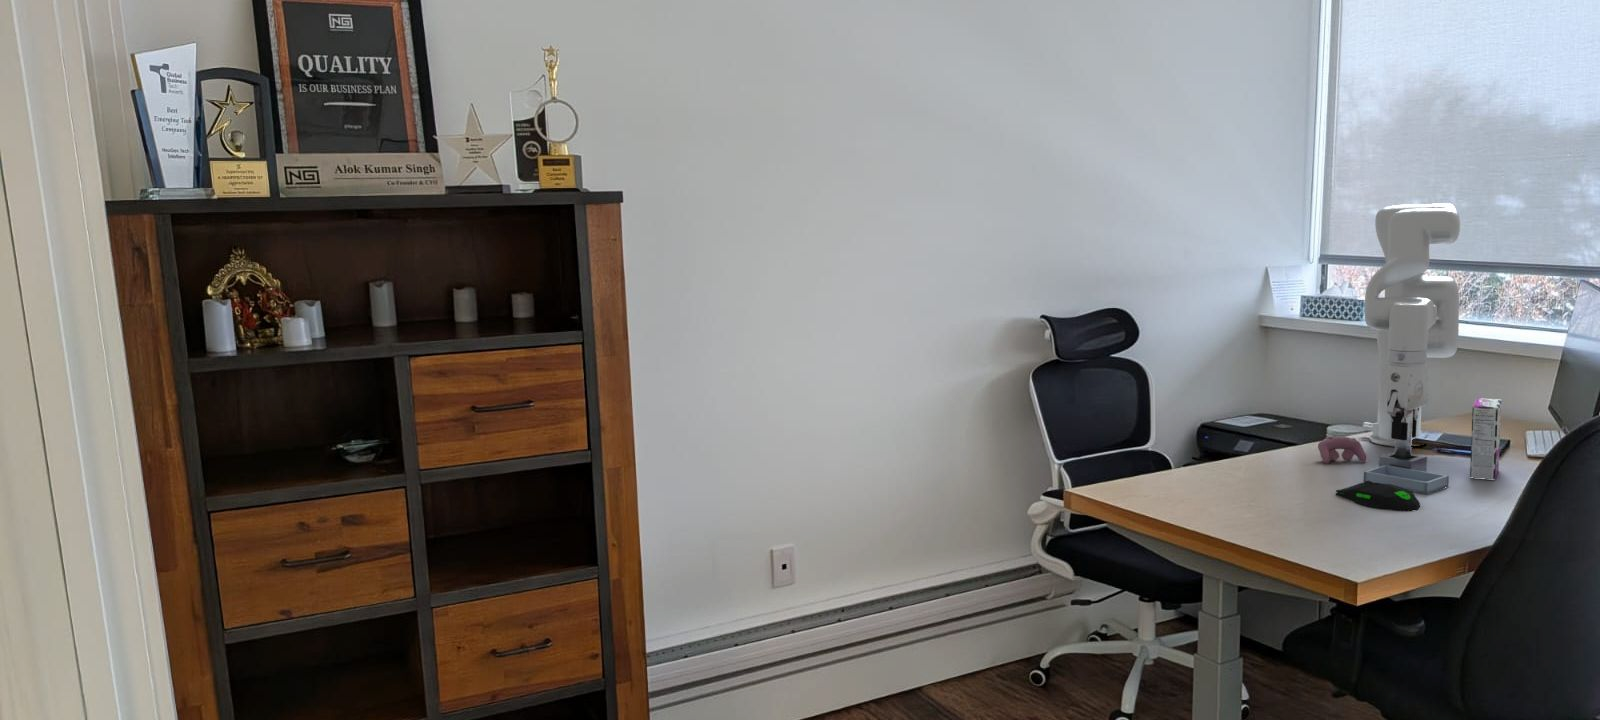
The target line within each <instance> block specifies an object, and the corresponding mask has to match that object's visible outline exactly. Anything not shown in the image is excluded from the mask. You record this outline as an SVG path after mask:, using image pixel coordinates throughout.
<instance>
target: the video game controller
mask: <svg viewBox="0 0 1600 720" xmlns="http://www.w3.org/2000/svg"><path fill="white" fill-rule="evenodd" d="M1317 449H1318V451H1319V455H1320V457H1321V459H1322V461H1323V462H1324V464H1328V465H1329V463H1330V461H1332V462H1334V461H1337V460H1338V459H1339V458H1340V453H1339V452H1338V451H1337V450H1343V451H1342V453H1341V457H1342V459H1343V460H1344V461H1347V462H1348V461H1350V460H1352V459H1353V458H1354V455H1355V456H1356V457H1357V458H1358V460H1359V461H1360V462H1361V463H1363V464H1365V463H1366V462H1367V454H1366V452H1365V449H1364V448H1363V446H1362V444H1361V442H1360V440H1357V439H1356V438H1355V437H1347V436H1342V435H1341V436H1331V437H1327V438H1323V439H1322V440H1321V441H1320V442H1318V444H1317Z"/></svg>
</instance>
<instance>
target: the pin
mask: <svg viewBox="0 0 1600 720" xmlns="http://www.w3.org/2000/svg"><path fill="white" fill-rule="evenodd" d="M1397 408H1401V406H1399V405H1397ZM1402 409H1403V408H1402ZM1416 409H1417V408H1416ZM1413 410H1415V409H1412V410H1407V417H1406V423H1408V431H1407V440H1398V439H1395V447H1394V452H1395V458H1400V459H1406V460H1409V459H1411V454H1412V447H1411V445H1412V423H1413ZM1398 412H1400V413H1401V415H1402V411H1398Z"/></svg>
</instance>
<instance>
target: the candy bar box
mask: <svg viewBox="0 0 1600 720" xmlns="http://www.w3.org/2000/svg"><path fill="white" fill-rule="evenodd" d="M1501 415H1502V399H1500V398H1485V397H1477V398H1476V399H1475V401H1474V404H1473V406H1472V415H1471V416H1472V417H1471V438H1470V439H1471V445H1470V447H1471V448H1470V451H1471V452H1470V467H1469V468H1470V471H1469V477H1473V478H1485V479H1495V478H1496V479H1497V476H1498V472H1499V467H1500V445H1501V443H1500V440H1501V439H1500V438H1501V421H1502V420H1501ZM1473 478H1472V479H1473ZM1496 479H1495V480H1496Z"/></svg>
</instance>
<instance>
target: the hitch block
mask: <svg viewBox="0 0 1600 720" xmlns="http://www.w3.org/2000/svg"><path fill="white" fill-rule="evenodd" d="M1427 462H1428V457H1427V456H1424V455H1418V454H1412V453H1411V459H1409V460H1406V459H1400V458H1395V451H1393V452H1390V453H1387V454H1386V453H1385V454H1382V455H1378V467H1381V466H1384V465H1388V466H1394V467H1400V468H1406V469H1412V470H1418V471H1424V472H1427V465H1428V463H1427Z"/></svg>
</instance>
